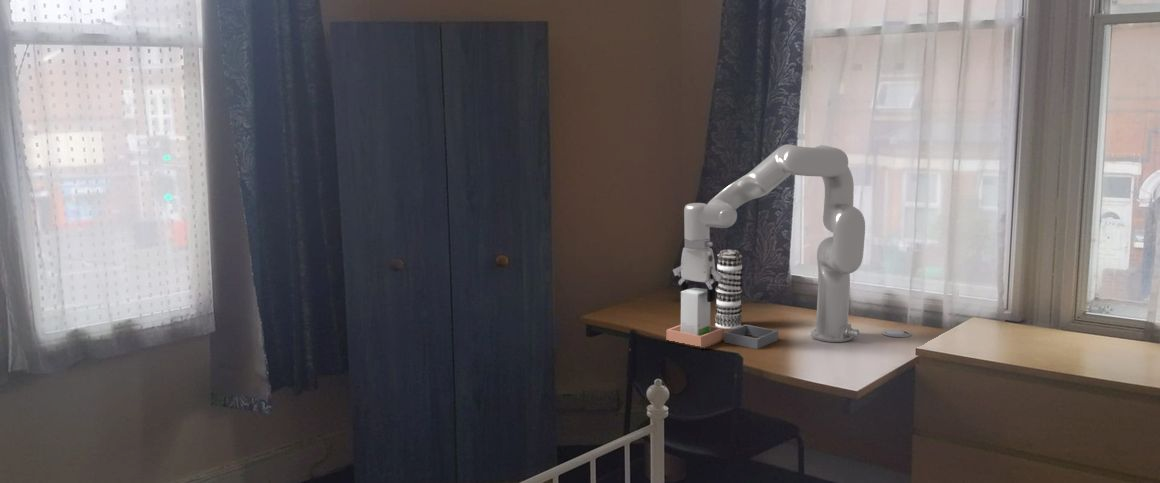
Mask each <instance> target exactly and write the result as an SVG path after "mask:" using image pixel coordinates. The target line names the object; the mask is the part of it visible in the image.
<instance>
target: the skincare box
mask: <svg viewBox="0 0 1160 483" xmlns="http://www.w3.org/2000/svg"><path fill="white" fill-rule="evenodd" d="M707 289H708V288H699V287H692V288H688V289H686V290H684V291H681V294H680V325H681V332H684V333H689V334H693V335H698V336H701V335H704V334H707V333H709V332H710V326H711V302H712V301H711V302H708V301H707Z"/></svg>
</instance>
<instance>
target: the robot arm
mask: <svg viewBox="0 0 1160 483" xmlns="http://www.w3.org/2000/svg"><path fill="white" fill-rule="evenodd" d="M791 175H793V176H801V177H803V176H805V177H821V178H822V180H823V185H824V200H823V215H822V222H823V226H824V227H825V229H827V231H829V232H831V233H832V236H829V237H825V239H823V240H822V241H821V242H820V243H819V245H818V247H817V251H816V259H817V262H816V263H817V269H818V270H817V272H818V273H817V274H818V277H817V285H818V286H817V296H816V298H817V303H816V322H815V323H816V325H815V326H816V327H815V329H813V330H811V332H810V336H811V338H813V339H814V340H818V341H822V342H827V343H843V342H849V341H852V340H853V337H855V338H859V337H860V333H861V332H860V329H856V328H852V323H849V312H850V311H849V309H850V308H849V307H850V293H851V292H850V289H851V274H852V273H854V272H856V271H857V270H858V269H859V268H860V266H861V265H862V262H863V259H864V248H865V239H866V236H865V235H866V221H865V217H864V215H863V212H862V211H860V209H858V208H857V207H855V206H854V190H855V189H854V187H855V186H854V185H855V184H854V178H853V174H852V172H851V169H850V167H849V158H848V155H847V154H846V153H845V152H844V150H842V149H840V148H837V147H832V146H830V145H817V146H815V147H809V146H798V145H796V144H795V145H794V144H790V143H789V144H783V145H782V146H781V145H780V146H779V147H778V148H776V149H775V150H774V151H773V152H772V153H770V154H769V155H768V156H767V157H766V158H764V160H762V161H760V163H759V164H757V165H756V166H755V167H754V168H753V169H751V170H750V171H749V172H748V173H746V174H745V175H742V176H741V177H740V178H738V179H736V180H735V181H733V182H732V183H730V184H729V185H728V186H726V187H725V188H723V189H722V190H721V191H720V192H718V193H717V194H716V195H715V196H714V197H713V198H711V199H710V200H709V201H708V202H707V203H704V202H703V203H702V202H692V203H691V202H690V203H688V204H685V205H684V209H683V212H684V213H683V214H684V216H683V217H684V219H683V220H684V222H683V224H684V247H683V248H682V252H681V259H680V265H679V266H677V267H676V268H673V269H672V272H673V275H674V278H675V279H676V281H677V283H678V285H679V294H680V295H681V291H684V290H686V289H689V284H688V283H687V282H689V281H690V282H691V281H692V282H698V283H705V285H706V286H707V288H706V289H707V301H708V302H714V301H715V298H716V288H717V286H718V285H719V284H720V281H721V279H722V277H723V276H722V275H721V274H720V273H719V272H717V270H715V268H716V263H715V257H714V256H715V255H714V251H713V249H712V248H711V247H713V245H714V244H713V242H712V241H711V238H710V237H711V236H710V228H718V229H719V228H720V229H727V228H730V227H731V226H733V225H734V224H735V223H736V221H737V219H738V213H737V209H738V208H739V207H741V206H742V205H743V204H745V203H748V202H749V201H751V200H755V199H759V198H762V197H763V196H766V195H768V194H769V193H770V192H772V190H774V189H775V188H777V187H778V186H779V185H780V184H781V183H782V182H784V180H786V179H787V178H788V177H790V176H791ZM715 278H716V279H715Z"/></svg>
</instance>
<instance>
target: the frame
mask: <svg viewBox="0 0 1160 483" xmlns="http://www.w3.org/2000/svg"><path fill="white" fill-rule="evenodd" d="M746 335H747V336H746ZM776 341H779V330H777V329H771V328H766V327H762V326H760V327H759V326H755V325H751V324H743V325H741V326H740V327H738V328H735V329H729V330H727V331H725V332H724V336H723V343H726V344H727V343H728V344H731V345H735V346H740V347H744V348H750V349H754V350H759V349H762V348H763V347H765V346H768V345H770V344H772V343H775V342H776Z"/></svg>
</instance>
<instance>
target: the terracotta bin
mask: <svg viewBox="0 0 1160 483" xmlns="http://www.w3.org/2000/svg"><path fill="white" fill-rule="evenodd" d="M724 330H725V329H724V328H720V327H716V326H715V325H714V326H713V325H710V332H709V333H707V334H704V335H701V336H698V335H693V334H689V333H684V332H681V324H678V325H676V326H673V327H670V328H668V329H666V330H665V332H666V334H665V335H666V339H665V340H669V341H675V342H679V343H685V344H690V345H695V346H700V347H707V348H709V347H711V345H712V346H714V345H717V344H719V343H722V342H724V333H725V332H724ZM708 346H709V347H708Z"/></svg>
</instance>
